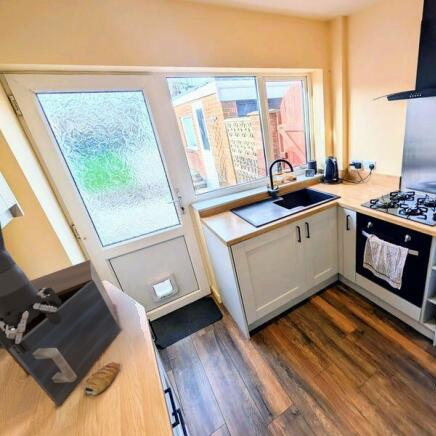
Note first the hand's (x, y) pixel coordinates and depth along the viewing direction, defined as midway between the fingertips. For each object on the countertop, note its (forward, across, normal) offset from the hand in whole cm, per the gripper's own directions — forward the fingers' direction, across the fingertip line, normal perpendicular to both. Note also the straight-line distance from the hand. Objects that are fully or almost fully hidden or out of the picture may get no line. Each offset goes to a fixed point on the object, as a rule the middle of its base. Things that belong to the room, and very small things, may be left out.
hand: (42, 337), depth 62 cm
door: (+25, -11, -3) cm, 28 cm away
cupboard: (+25, -23, -22) cm, 41 cm away
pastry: (+26, -4, +2) cm, 26 cm away
